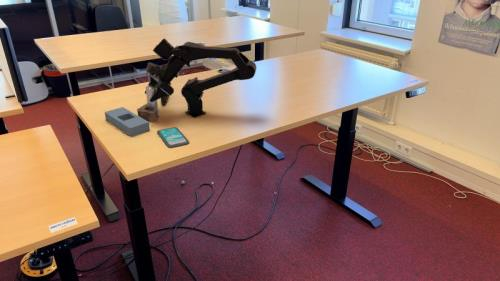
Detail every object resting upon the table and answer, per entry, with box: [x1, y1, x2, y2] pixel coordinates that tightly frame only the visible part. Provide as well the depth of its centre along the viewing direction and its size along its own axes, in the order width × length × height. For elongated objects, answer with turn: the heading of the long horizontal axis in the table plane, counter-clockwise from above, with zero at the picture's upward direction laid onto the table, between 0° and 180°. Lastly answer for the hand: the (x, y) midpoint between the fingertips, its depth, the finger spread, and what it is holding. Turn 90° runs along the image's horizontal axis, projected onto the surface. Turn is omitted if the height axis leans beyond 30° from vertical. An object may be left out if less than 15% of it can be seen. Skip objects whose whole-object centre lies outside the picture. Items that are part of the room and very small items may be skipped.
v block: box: [136, 103, 157, 123], centre depth 156 cm, size 6×11×4 cm, turn 25°
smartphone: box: [156, 126, 190, 149], centre depth 142 cm, size 9×1×15 cm
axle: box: [145, 85, 160, 119], centre depth 155 cm, size 4×4×13 cm
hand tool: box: [160, 96, 169, 107], centre depth 175 cm, size 19×4×5 cm, turn 2°
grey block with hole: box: [104, 106, 151, 137], centre depth 150 cm, size 20×8×4 cm, turn 45°
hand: (147, 97), depth 153 cm, fingers open, 9 cm apart
